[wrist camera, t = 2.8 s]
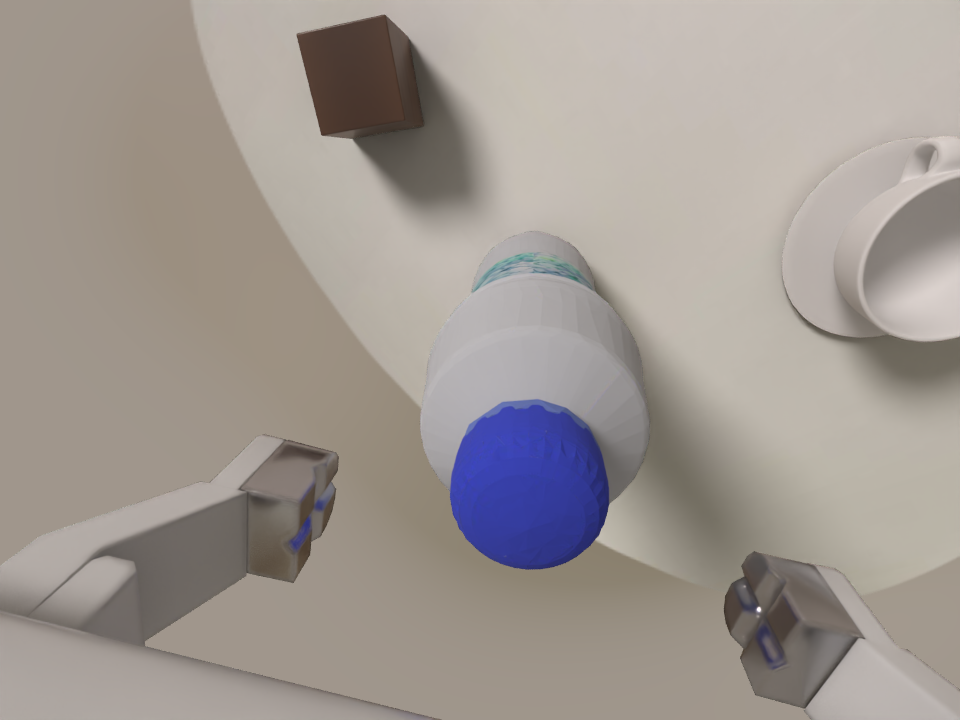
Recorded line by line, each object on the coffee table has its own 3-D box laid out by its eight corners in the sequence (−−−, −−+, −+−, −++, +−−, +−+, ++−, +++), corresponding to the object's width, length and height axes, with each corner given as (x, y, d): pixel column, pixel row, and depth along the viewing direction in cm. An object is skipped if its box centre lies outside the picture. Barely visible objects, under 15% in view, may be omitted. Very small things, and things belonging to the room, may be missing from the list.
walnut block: (351, 139, 26) (321, 135, 22) (331, 52, 24) (295, 33, 20) (424, 126, 25) (405, 120, 21) (408, 36, 24) (385, 13, 20)
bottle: (476, 337, 29) (380, 640, 11) (472, 223, 27) (338, 366, 8) (588, 338, 29) (689, 663, 10) (596, 221, 26) (748, 372, 8)
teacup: (975, 318, 26) (1063, 350, 22) (775, 346, 28) (820, 381, 23) (1012, 115, 22) (1127, 104, 18) (779, 161, 24) (833, 162, 20)
